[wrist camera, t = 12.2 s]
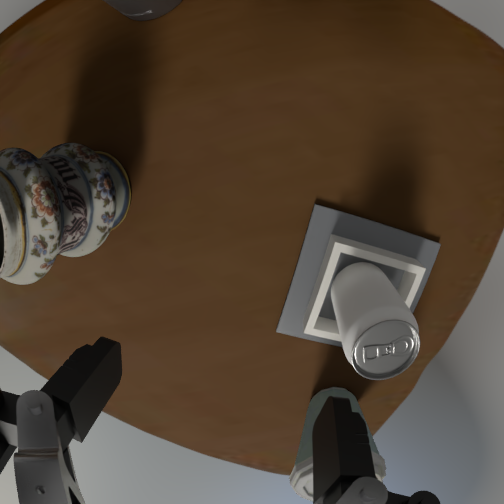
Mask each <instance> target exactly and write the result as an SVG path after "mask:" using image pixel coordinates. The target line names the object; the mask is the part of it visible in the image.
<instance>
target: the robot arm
mask: <svg viewBox="0 0 504 504" xmlns="http://www.w3.org/2000/svg"><path fill="white" fill-rule="evenodd" d="M103 1H105V2H106V3H108V4H109V5H111V6H112V7H113V8H115V9H116V10H118V11H119V12H120V13H122V14H124V15H125V16H127V17H128V18H130V19H133V20H138V21H144V20H151V19H154V18H158V17H160V16H162V15H164V14H166V13H168V12H169V11H171V10H172V9H174V8H175V7H176V6H177V5H178V4H179V3H180V2H181V1H182V0H103ZM121 376H122V360H121V345H120V343H119V342H116V341H113V340H111V339H108V338H105V337H100V338H99V339H98V340H97V341H96V342H95V343H94V345H93V346H91V345H88V344H86V345H84V346H82V347H80V348H78V349H76V350H75V351H74V353H73V354H72V355H71V356H70V357H69V359H67V360H66V361H65V363H64V364H63V366H61V367H60V368H59V369H58V370H57V372H56V373H55V374H54V375H53V376H52V377H51V378H50V379H49V381H48V382H47V383H46V384H45V385H44V387H43V388H42V389H41V390H40V391H38V390H31V391H27V392H25V393H23V394H22V395H21V396H20V395H16V394H12V393H8V392H5V391H1V389H0V474H1V472H2V470H3V469H4V467H5V465H6V464H7V462H8V460H9V459H10V457H11V456H12V454H13V452H14V451H15V449H16V448H17V447H18V453H14V469H15V476H16V484H17V492H18V498H19V503H20V504H85V502H84V499H83V497H82V494H81V492H80V489H79V486H78V483H77V479H76V475H75V471H74V467H73V462H72V458H71V453H70V449H69V443H70V442H71V440H72V439H75V440H77V441H80V442H81V443H82V442H83V440H84V438H85V437H86V435H87V434H88V432H89V430H90V429H91V427H92V425H93V424H94V422H95V421H96V419H97V417H98V416H99V414H100V413H101V411H102V410H103V408H104V407H105V405H106V403H107V402H108V400H109V399H110V397H111V396H112V394H113V393H114V391H115V389H116V388H117V386H118V385H119V383H120V380H121ZM367 435H368V432H367V427H366V422H365V421H364V419H363V418H362V416H361V415H360V413H359V412H352V408H351V403H350V399H349V398H344V397H336V396H329V397H328V398H327V400H326V402H325V403H324V405H323V407H322V409H321V411H320V413H319V415H318V416H317V418H316V420H315V422H314V426H313V431H312V447H313V504H440V501H439V499H438V498H437V497H436V496H435V495H434V494H432V493H431V492H428V491H418V492H416V493H414V494H413V495H412V496H411V497H408V496H404V495H399V494H395V493H392V492H389V491H387V488H386V486H385V485H384V484H383V483H382V482H381V481H380V480H378V479H376V475H375V469H374V464H373V458H372V453H371V447H370V445H369V443H370V442H369V437H368V436H367Z"/></svg>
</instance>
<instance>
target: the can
mask: <svg viewBox="0 0 504 504" xmlns="http://www.w3.org/2000/svg"><path fill="white" fill-rule="evenodd" d="M331 299H332V303H333V308H334V312H335V316H336V320H337V325H338V329H339V333H340V338H341V342H342V346H343V350H344V353H345V356H346V358H347V360H348V361H349V362H350V364H351V365H352V366H353V367H354V369H355V370H356V372H357V373H358V374H360V375H361V376H363V377H365V378H367V379H371V380H384V379H388V378H392V377H394V376H396V375H398V374H400V373H402V372H403V371H405V370H406V369H407V368H408V367H409V366H410V365H411V364H412V363H413V361H414V360H415V358H416V357H417V355H418V352H419V349H420V337H419V330H418V324H417V322H416V319H415V317H414V316H413V314H412V312H411V311H410V309H409V308H408V306H407V305H406V303H405V302H404V300H403V299H402V297H401V296H400V295H399V293H398V292H397V290H396V289H395V287H394V286H393V285H392V283H391V282H390V280H389V279H388V278H387V276H386V275H385V274H384V273H383V271H382V270H381V269H380V268H378V267H377V266H375V265H373V264H371V263H366V262H359V263H354V264H351V265H349V266H347V267H345V268H344V269H343V270H341V271H340V272H339V273H338V275H337V276H336V277H335V279H334V281H333V283H332V287H331Z"/></svg>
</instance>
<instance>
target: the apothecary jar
mask: <svg viewBox="0 0 504 504" xmlns="http://www.w3.org/2000/svg"><path fill="white" fill-rule="evenodd" d="M130 200H131V189H130V183H129V179H128V176H127V174H126V171H125V170H124V168H123V166H122V165H121V164H120V162H119V161H118V160H117V159H116V158H114V157H113V156H112V155H110V154H108V153H105V152H101V151H93V150H92V149H90V148H89V147H87V146H84V145H81V144H77V143H64V144H60V145H57V146H55V147H53V148H52V149H50V150H49V151H47V152H46V153H45V154H44V155H43V156H42V157H41V158H39V159H38V158H37V157H36V156H34V155H33V154H32V153H30V152H28V151H26V150H24V149H20V148H7V149H4V150H1V151H0V278H3V279H4V280H6V281H9V282H11V283H14V284H21V285H23V284H31V283H34V282H36V281H38V280H39V279H41V278H42V277H43V276H44V275H45V274H46V273H47V272H48V271H49V269H50V268H51V266H52V264H53V263H54V261H55V258H56V256H57V255H58V254H61V255H64V256H69V257H79V256H83V255H86V254H89V253H91V252H93V251H94V250H96V249H97V248H98V247H99V246H100V245H101V244H102V243H103V242H104V241H105V239H106V238H107V236H108V234H109V233H110V231H111V230H113V229H115V228H116V227H117V226H119V225H120V224H121V222H122V221H123V220H124V218H125V217H126V214H127V212H128V209H129V206H130Z"/></svg>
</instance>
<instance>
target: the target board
mask: <svg viewBox="0 0 504 504" xmlns="http://www.w3.org/2000/svg"><path fill="white" fill-rule="evenodd" d="M440 245H441V244H440V243H438V242H435V241H432V240H429V239H426V238H423V237H421V236H418V235H415V234H412V233H409V232H406V231H403V230H400V229H397V228H394V227H390V226H387V225H384V224H381V223H378V222H375V221H372V220H368V219H365V218H362V217H359V216H355V215H352V214H349V213H345V212H342V211H339V210H335V209H332V208H328V207H325V206H321V205H318V204H314V207H313V211H312V214H311V218H310V221H309V225H308V228H307V232H306V235H305V239H304V242H303V245H302V249H301V252H300V255H299V259H298V262H297V265H296V269H295V272H294V275H293V279H292V282H291V285H290V288H289V291H288V295H287V298H286V301H285V304H284V307H283V310H282V313H281V316H280V320H279V323H278V326H277V329H276V332H279V333H283V334H287V335H291V336H295V337H300V338H304V339H308V340H313V341H317V342H321V343H326V344H330V345H335V346H340V347H343V346H342V342H341V338H340V333H339V329H338V325H337V320H336V316H335V312H334V308H333V303H332V299H331V287H332V283H333V281H334V279H335V277H336V276H337V275H338V273H339V272H340V271H341V270H343V269H344V268H345V267H347V266H349V265H351V264H354V263H359V262H366V263H371V264H373V265H375V266H377V267H378V268H380V269H381V270H382V271H383V273H384V274H385V275H386V276H387V278H388V279H389V280H390V282H391V283H392V285H393V286H394V287H395V289H396V290H397V292H398V293H399V295H400V296H401V297H402V299H403V300H404V302H405V303H406V305H407V306H408V308H409V309H410V311H411V312H412V314H413V312H414V310H415V307H416V305H417V303H418V301H419V298H420V296H421V294H422V291H423V289H424V287H425V284H426V282H427V279H428V277H429V274H430V272H431V269H432V267H433V264H434V262H435V259H436V256H437V253H438V251H439V248H440Z"/></svg>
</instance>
